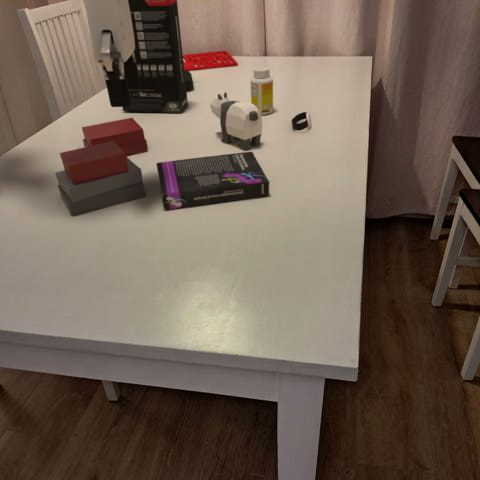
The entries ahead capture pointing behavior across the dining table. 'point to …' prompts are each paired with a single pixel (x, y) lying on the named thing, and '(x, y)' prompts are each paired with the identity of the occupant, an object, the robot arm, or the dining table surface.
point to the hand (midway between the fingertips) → (126, 96)
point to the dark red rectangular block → (94, 162)
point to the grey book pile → (101, 190)
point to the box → (211, 180)
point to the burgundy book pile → (117, 135)
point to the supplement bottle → (262, 90)
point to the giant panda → (238, 121)
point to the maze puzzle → (208, 60)
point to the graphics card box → (157, 57)
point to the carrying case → (188, 80)
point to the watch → (304, 124)
